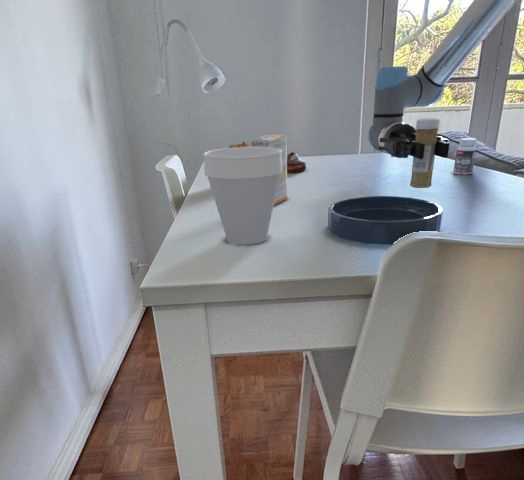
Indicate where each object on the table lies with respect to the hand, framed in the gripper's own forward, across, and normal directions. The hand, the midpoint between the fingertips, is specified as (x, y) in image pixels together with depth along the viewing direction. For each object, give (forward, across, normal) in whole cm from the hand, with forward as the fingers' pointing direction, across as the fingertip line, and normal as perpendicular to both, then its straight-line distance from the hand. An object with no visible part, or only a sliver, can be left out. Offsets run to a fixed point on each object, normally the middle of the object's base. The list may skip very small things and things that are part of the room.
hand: (434, 151), depth 95 cm
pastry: (-45, +23, -10) cm, 52 cm away
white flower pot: (+22, +39, -10) cm, 46 cm away
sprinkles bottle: (-5, 0, -8) cm, 10 cm away
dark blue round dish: (+22, +16, -10) cm, 29 cm away
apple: (-30, +38, -10) cm, 50 cm away
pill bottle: (-28, -20, -10) cm, 36 cm away
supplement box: (-5, +33, -10) cm, 35 cm away
